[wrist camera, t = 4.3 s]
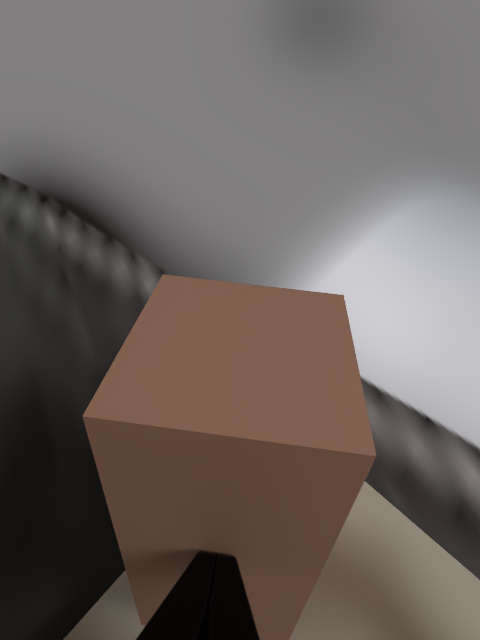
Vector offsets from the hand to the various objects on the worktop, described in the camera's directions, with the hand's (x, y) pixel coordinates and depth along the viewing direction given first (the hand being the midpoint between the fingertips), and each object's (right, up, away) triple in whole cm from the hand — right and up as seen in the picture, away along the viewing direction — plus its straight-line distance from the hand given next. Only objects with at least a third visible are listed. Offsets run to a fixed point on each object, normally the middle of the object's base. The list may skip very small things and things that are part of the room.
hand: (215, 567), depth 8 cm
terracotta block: (0, -3, +5) cm, 6 cm away
